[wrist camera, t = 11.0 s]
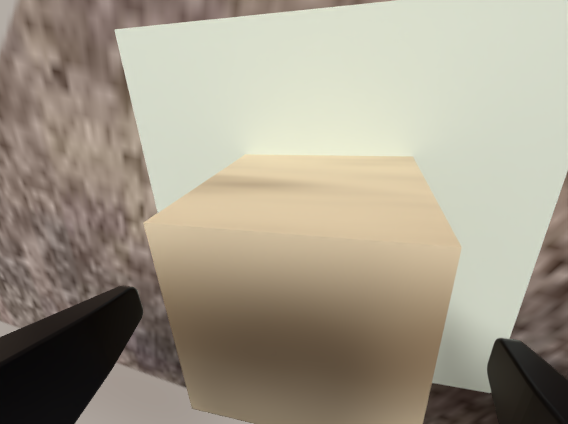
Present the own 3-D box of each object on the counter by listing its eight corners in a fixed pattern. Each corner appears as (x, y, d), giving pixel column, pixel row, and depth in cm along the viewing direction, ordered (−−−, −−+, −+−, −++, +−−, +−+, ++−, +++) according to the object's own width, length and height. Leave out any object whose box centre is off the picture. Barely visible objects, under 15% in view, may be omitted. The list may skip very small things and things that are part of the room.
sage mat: (484, 377, 14) (490, 393, 13) (194, 328, 18) (187, 339, 17) (611, -16, 8) (635, -24, 7) (129, 32, 12) (114, 29, 11)
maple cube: (394, 298, 13) (414, 461, 7) (258, 282, 14) (192, 408, 9) (413, 156, 10) (462, 247, 5) (245, 154, 12) (143, 222, 6)
